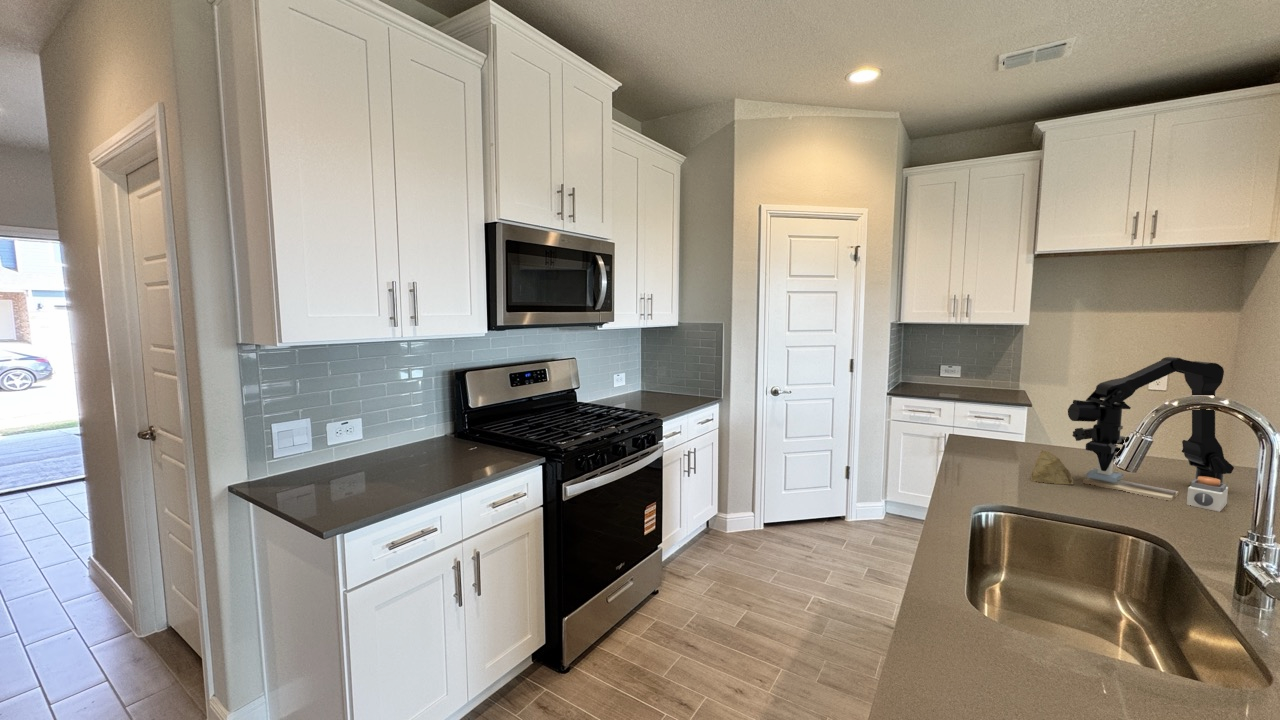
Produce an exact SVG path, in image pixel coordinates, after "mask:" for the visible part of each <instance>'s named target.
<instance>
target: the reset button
mask: <svg viewBox="0 0 1280 720" xmlns="http://www.w3.org/2000/svg"><path fill="white" fill-rule="evenodd" d="M1220 481H1221V480H1219V479H1216V478H1212V477H1205V476H1198V479H1197V482H1198V483H1201V484H1205V485H1211V486H1220Z"/></svg>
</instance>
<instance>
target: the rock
mask: <svg viewBox="0 0 1280 720" xmlns="http://www.w3.org/2000/svg"><path fill="white" fill-rule="evenodd" d="M1032 469H1033V470H1032V474H1031V478H1030V482H1032V481H1033V482H1035V481H1037V482H1036V483H1041V482H1044V483H1043V484H1050V483H1054V485H1055V484H1056V485H1074V479H1073V477H1072V475H1071V474H1072V473H1071V471H1070V470H1069V469H1068V468H1067V467H1066V466H1065V464H1063V462H1062V461H1061V459H1060V458H1059V457H1057V456H1056V455H1055V454H1053V453H1052V452H1050V451H1049V450H1048V451H1047V450H1041V452H1040V453H1039V455H1038V458H1037V460H1036V463H1035V465H1034V467H1033V468H1032Z"/></svg>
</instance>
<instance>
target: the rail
mask: <svg viewBox="0 0 1280 720" xmlns="http://www.w3.org/2000/svg"><path fill="white" fill-rule="evenodd" d="M1086 477H1087V476H1086ZM1082 483H1083V484H1084V483H1085V484H1086V485H1089V484H1091V485H1090V486H1094V485H1096V486H1095V487H1099V486H1101V487H1100V488H1103V487H1107V488H1106V489H1108V488H1113V489H1118V490H1123V491H1126V492H1125V493H1127V492H1130V493H1129V494H1132V493H1135V494H1134V495H1137V494H1139V495H1138V496H1142V495H1143V497H1147V496H1148V497H1147V498H1151V497H1153V498H1152V499H1156V498H1158V500H1161V499H1164V500H1163V501H1166V500H1169V501H1168V502H1172V501H1173V500H1174V499H1175V498H1177V497H1178V496H1179V494H1180V493H1179V491H1178V490H1174V489H1168V488H1163V487H1157V486H1152V485H1148V484H1143V483H1137V482H1133V481H1128V480H1123V479H1120V480H1119V481H1117V482H1110V481H1105V480H1100V479H1095V478H1090V477H1087V478H1085V479H1083V481H1082ZM1113 489H1112V490H1113ZM1118 490H1117V491H1118ZM1123 491H1122V492H1123ZM1173 498H1174V499H1173ZM1172 499H1173V500H1172Z"/></svg>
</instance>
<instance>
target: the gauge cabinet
mask: <svg viewBox="0 0 1280 720" xmlns="http://www.w3.org/2000/svg"><path fill="white" fill-rule="evenodd" d="M1228 493H1229V486H1227V484H1226V483H1223V484H1222V483H1220V486H1211V485H1205V484H1201V483H1198V482H1197V479H1195V478H1194V479H1193V480H1191V482H1190V486H1188V487H1187V495H1186V496H1187V497H1186V506H1190V505H1191V506H1190V507H1195V508H1200V509H1204V510H1205V509H1206V510H1210V511H1214V512H1220V513H1221V511H1222V510H1223V509H1224V508H1225V507H1226V505H1227V503H1228Z"/></svg>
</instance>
